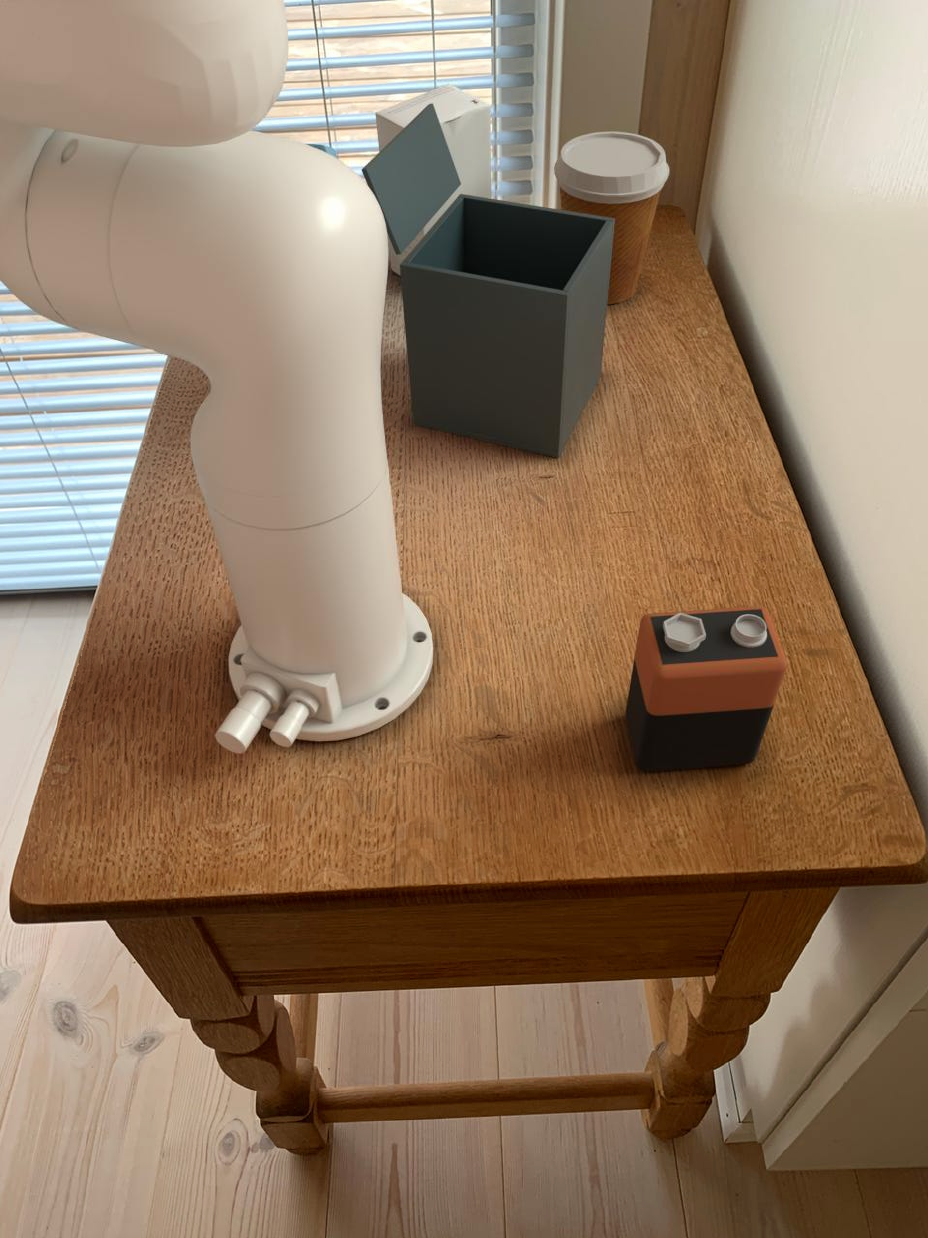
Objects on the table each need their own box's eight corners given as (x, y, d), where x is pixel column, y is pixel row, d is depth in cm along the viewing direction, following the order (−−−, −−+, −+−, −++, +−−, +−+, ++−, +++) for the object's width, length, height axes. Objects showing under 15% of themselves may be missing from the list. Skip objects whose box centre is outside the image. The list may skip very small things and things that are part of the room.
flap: (400, 254, 66) (396, 255, 67) (461, 184, 73) (457, 185, 73) (365, 168, 63) (360, 169, 63) (432, 102, 70) (428, 104, 70)
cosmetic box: (456, 243, 96) (450, 79, 85) (496, 266, 93) (495, 99, 82) (386, 273, 93) (371, 106, 81) (426, 298, 89) (415, 129, 78)
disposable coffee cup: (645, 321, 86) (661, 184, 77) (538, 307, 88) (543, 172, 79) (661, 266, 92) (679, 134, 83) (561, 255, 94) (568, 124, 85)
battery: (623, 713, 58) (641, 598, 51) (736, 705, 58) (771, 589, 51) (636, 775, 55) (658, 664, 48) (756, 767, 56) (796, 654, 48)
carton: (412, 424, 77) (399, 264, 67) (465, 349, 84) (460, 193, 74) (558, 458, 74) (567, 295, 64) (600, 377, 81) (615, 217, 71)
